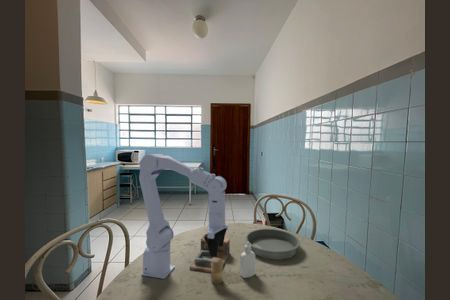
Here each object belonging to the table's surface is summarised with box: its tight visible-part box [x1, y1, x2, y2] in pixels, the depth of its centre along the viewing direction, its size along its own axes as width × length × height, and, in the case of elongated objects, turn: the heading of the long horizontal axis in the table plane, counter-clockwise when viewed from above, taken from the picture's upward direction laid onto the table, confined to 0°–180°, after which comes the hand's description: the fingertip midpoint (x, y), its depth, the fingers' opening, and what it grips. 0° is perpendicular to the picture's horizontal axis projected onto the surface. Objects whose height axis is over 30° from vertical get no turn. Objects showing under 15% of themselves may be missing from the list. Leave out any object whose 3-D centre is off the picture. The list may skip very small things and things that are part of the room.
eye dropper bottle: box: [239, 241, 256, 279], centre depth 77 cm, size 4×6×12 cm
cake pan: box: [245, 228, 301, 260], centre depth 99 cm, size 25×25×4 cm
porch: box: [189, 235, 231, 273], centre depth 87 cm, size 12×16×6 cm
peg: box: [210, 258, 224, 285], centre depth 74 cm, size 4×4×7 cm
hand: (216, 250), depth 74 cm, fingers open, 7 cm apart
